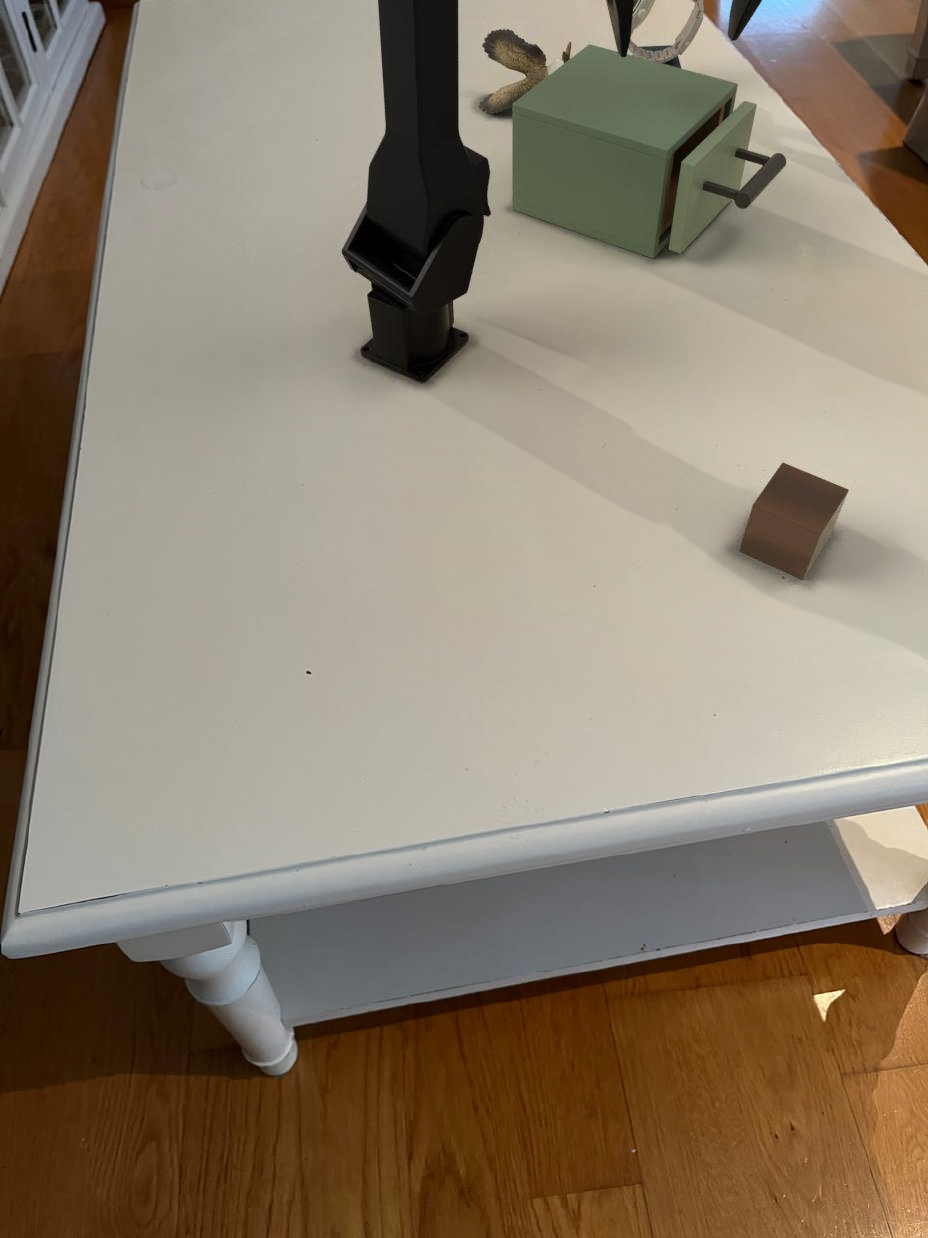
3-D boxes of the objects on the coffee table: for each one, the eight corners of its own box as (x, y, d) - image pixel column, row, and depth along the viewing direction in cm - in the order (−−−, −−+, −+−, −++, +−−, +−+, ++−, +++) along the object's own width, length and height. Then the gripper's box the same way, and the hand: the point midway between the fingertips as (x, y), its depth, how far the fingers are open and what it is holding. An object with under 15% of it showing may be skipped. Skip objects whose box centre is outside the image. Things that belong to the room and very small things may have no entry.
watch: (611, 78, 103) (621, -40, 94) (687, 75, 103) (704, -43, 94) (616, 104, 100) (626, -15, 91) (695, 101, 99) (713, -19, 90)
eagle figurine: (562, 66, 102) (478, 53, 101) (579, 21, 95) (489, 7, 94) (558, 135, 102) (474, 124, 101) (575, 96, 95) (485, 83, 94)
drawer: (784, 204, 86) (805, 116, 80) (726, 269, 81) (745, 180, 75) (609, 150, 93) (616, 65, 86) (546, 207, 87) (549, 121, 81)
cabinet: (718, 190, 89) (738, 83, 82) (653, 258, 84) (667, 150, 76) (582, 147, 95) (589, 43, 87) (511, 209, 89) (512, 103, 81)
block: (802, 580, 63) (820, 534, 59) (738, 551, 64) (752, 504, 61) (830, 536, 65) (849, 489, 61) (767, 508, 66) (782, 461, 63)
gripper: (791, -251, 70) (748, -11, 83) (542, -222, 68) (537, 19, 81) (862, -207, 63) (803, 47, 76) (589, -173, 62) (575, 81, 74)
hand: (677, 46), depth 77 cm, fingers open, 9 cm apart
